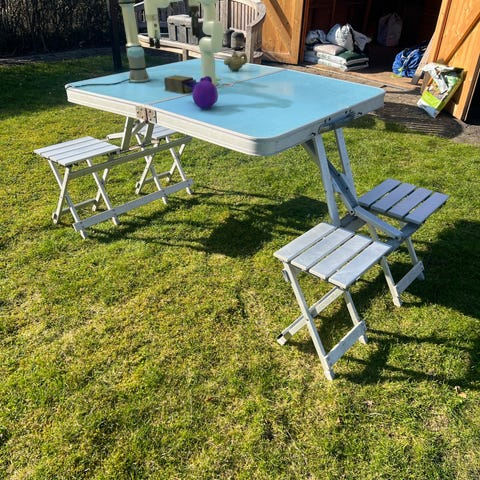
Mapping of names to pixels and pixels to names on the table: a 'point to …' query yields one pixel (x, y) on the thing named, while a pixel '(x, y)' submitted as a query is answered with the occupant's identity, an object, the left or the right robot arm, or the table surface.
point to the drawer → (187, 88)
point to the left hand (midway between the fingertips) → (195, 36)
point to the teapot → (235, 61)
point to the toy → (203, 92)
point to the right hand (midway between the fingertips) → (155, 47)
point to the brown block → (175, 83)
